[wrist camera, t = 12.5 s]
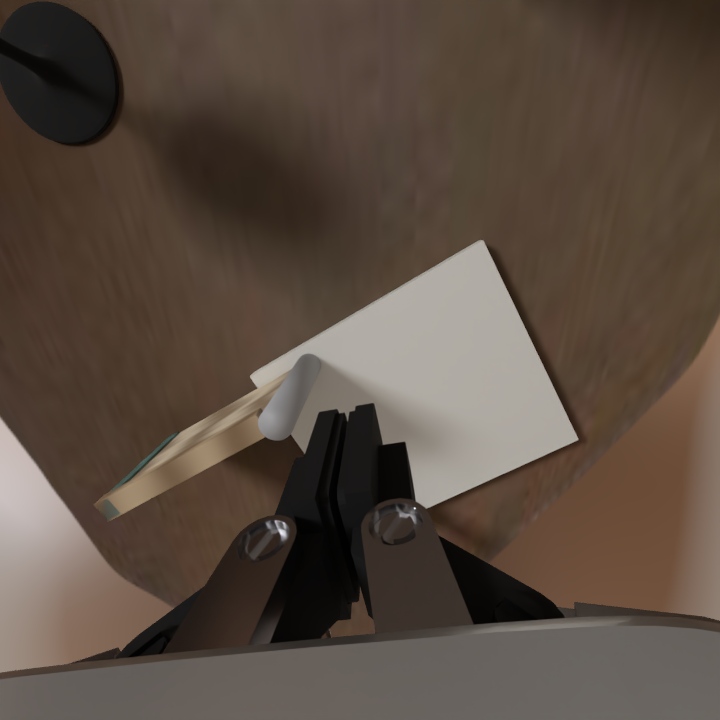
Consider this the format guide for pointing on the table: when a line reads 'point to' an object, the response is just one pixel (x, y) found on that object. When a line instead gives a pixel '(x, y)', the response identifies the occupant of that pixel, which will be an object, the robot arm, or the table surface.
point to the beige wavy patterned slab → (191, 451)
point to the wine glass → (57, 73)
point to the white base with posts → (430, 379)
